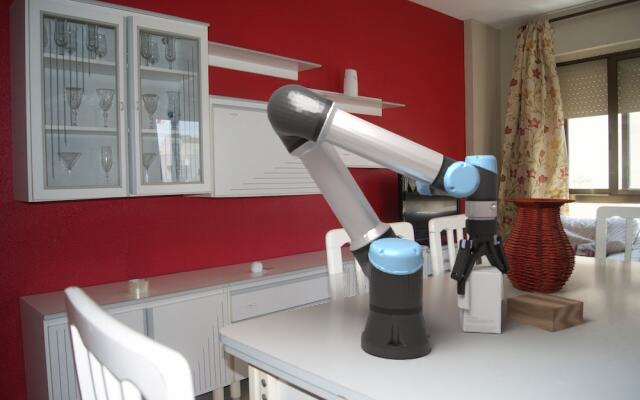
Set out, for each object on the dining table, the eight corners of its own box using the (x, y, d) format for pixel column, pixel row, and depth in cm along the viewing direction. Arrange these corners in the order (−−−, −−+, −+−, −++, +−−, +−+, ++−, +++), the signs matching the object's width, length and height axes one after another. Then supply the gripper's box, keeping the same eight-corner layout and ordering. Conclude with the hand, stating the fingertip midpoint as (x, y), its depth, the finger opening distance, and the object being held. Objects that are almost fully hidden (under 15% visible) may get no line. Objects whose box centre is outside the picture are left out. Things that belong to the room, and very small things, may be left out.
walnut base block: (552, 333, 120) (553, 309, 120) (506, 320, 131) (507, 298, 131) (582, 324, 127) (583, 301, 127) (536, 313, 138) (537, 291, 138)
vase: (556, 300, 150) (558, 201, 149) (486, 287, 168) (487, 199, 167) (587, 289, 166) (589, 199, 165) (519, 278, 183) (521, 197, 182)
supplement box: (501, 334, 119) (502, 272, 118) (462, 332, 120) (463, 271, 119) (495, 323, 127) (496, 265, 127) (459, 321, 129) (460, 264, 128)
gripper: (460, 222, 112) (460, 315, 113) (524, 216, 127) (523, 298, 128) (435, 220, 118) (435, 308, 119) (498, 214, 133) (498, 293, 134)
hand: (481, 303), depth 124 cm, fingers open, 13 cm apart
